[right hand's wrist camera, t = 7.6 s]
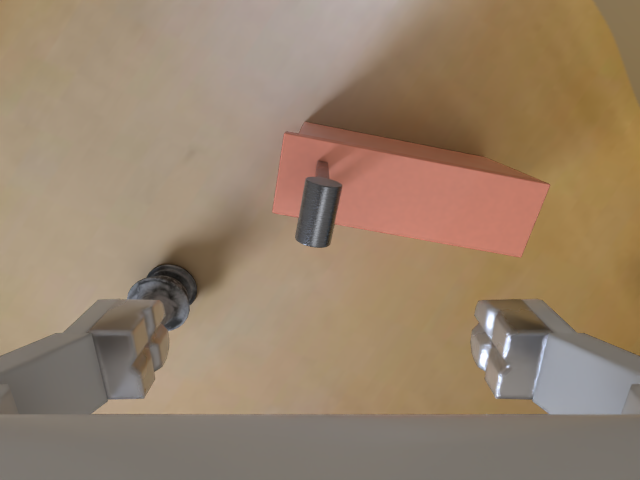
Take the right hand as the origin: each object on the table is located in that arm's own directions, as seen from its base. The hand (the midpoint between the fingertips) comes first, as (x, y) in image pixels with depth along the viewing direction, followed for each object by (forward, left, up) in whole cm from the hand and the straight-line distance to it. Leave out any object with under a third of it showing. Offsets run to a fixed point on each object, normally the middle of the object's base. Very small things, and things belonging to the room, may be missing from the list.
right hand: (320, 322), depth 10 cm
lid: (+6, -2, -18) cm, 19 cm away
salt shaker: (-17, -11, -28) cm, 35 cm away
